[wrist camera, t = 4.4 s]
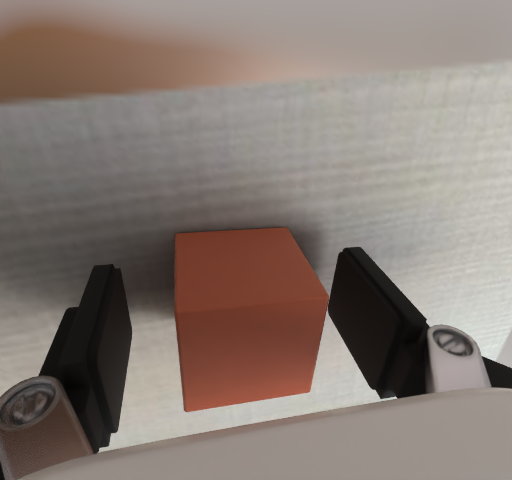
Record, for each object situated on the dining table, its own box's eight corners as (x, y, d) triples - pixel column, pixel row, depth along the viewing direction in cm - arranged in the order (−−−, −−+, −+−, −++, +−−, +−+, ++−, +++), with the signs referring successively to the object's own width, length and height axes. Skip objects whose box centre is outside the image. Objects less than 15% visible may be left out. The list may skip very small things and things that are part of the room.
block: (181, 320, 13) (184, 414, 10) (174, 232, 11) (174, 312, 8) (278, 309, 14) (310, 393, 11) (287, 226, 12) (330, 296, 9)
